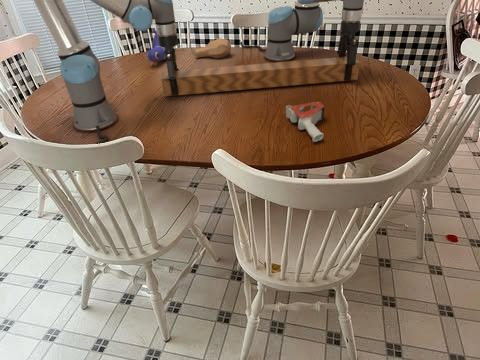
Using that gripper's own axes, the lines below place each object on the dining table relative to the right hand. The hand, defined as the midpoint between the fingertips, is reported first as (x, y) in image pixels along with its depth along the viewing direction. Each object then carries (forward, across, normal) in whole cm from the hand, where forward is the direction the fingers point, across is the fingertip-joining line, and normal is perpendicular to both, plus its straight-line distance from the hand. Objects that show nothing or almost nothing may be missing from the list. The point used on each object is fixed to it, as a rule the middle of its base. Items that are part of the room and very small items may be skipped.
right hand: (343, 76), depth 154 cm
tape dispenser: (+1, -40, +26) cm, 48 cm away
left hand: (0, 0, +73) cm, 73 cm away
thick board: (+1, 0, +36) cm, 36 cm away
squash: (+2, +47, +55) cm, 73 cm away
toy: (+3, +46, +84) cm, 95 cm away
